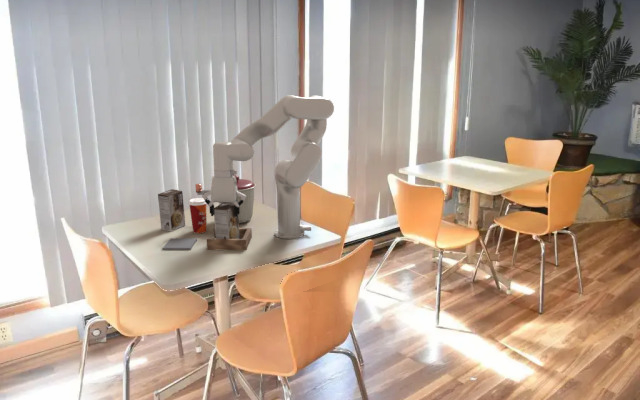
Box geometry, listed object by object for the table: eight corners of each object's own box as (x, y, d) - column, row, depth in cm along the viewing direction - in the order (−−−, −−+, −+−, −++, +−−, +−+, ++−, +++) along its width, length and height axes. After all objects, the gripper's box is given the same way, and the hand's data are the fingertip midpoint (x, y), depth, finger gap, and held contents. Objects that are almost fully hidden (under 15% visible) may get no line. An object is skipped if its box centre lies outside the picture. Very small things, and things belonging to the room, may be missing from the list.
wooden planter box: (253, 234, 241) (251, 193, 236) (246, 249, 223) (244, 205, 218) (216, 234, 241) (213, 193, 236) (207, 249, 224) (204, 205, 219)
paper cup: (204, 234, 241) (202, 202, 237) (187, 233, 242) (185, 202, 239) (211, 228, 248) (209, 197, 244) (195, 227, 250) (193, 197, 246)
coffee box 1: (174, 223, 256) (171, 188, 251) (185, 225, 253) (183, 190, 249) (160, 229, 248) (157, 193, 244) (171, 231, 245) (168, 195, 241)
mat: (197, 240, 234) (196, 238, 234) (190, 249, 224) (190, 247, 223) (170, 240, 235) (170, 238, 234) (162, 249, 224) (162, 247, 224)
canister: (265, 219, 260) (263, 174, 254) (235, 229, 247) (232, 182, 241) (239, 212, 272) (237, 168, 266) (209, 221, 259) (206, 176, 253)
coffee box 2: (225, 238, 236) (223, 201, 231) (240, 240, 234) (238, 202, 229) (215, 246, 227) (213, 207, 223) (230, 247, 225) (228, 209, 221)
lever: (233, 192, 236) (233, 182, 234) (233, 194, 233) (232, 184, 232) (196, 194, 234) (195, 183, 233) (195, 195, 231) (195, 185, 230)
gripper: (247, 172, 226) (247, 213, 230) (203, 171, 226) (205, 212, 231) (244, 176, 219) (245, 218, 223) (199, 175, 219) (201, 217, 224)
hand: (224, 215), depth 227 cm, fingers open, 9 cm apart
